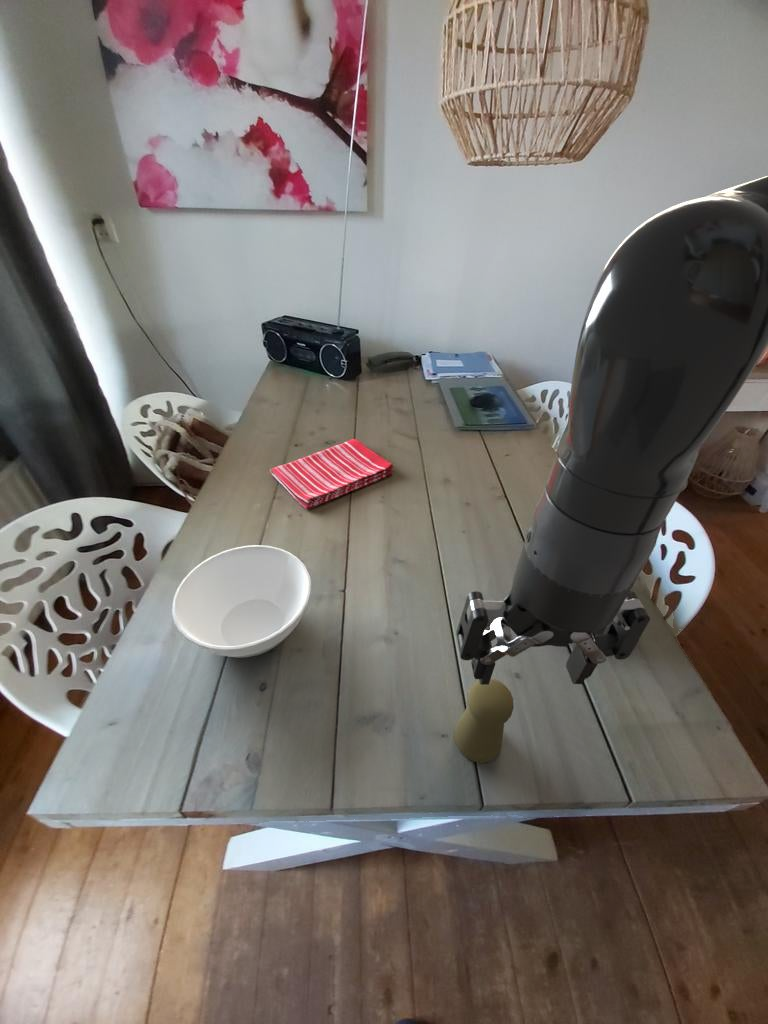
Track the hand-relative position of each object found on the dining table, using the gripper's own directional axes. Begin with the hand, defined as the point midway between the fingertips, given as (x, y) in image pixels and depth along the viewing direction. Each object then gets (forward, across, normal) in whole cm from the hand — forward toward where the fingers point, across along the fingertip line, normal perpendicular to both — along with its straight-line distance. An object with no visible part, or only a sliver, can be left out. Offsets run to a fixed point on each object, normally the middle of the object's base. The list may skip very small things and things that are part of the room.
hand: (527, 675), depth 41 cm
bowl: (+21, -33, +21) cm, 44 cm away
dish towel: (+21, -23, +63) cm, 70 cm away
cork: (+21, -1, +3) cm, 21 cm away
